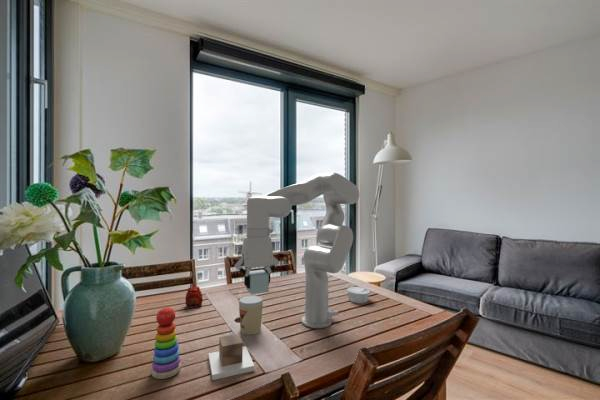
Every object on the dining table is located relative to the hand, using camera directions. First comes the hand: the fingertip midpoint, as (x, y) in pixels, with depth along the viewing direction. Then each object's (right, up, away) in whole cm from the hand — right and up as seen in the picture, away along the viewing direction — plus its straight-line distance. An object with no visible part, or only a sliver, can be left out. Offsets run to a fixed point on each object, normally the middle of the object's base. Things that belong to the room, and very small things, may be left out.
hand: (257, 285), depth 97 cm
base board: (-7, -22, -9) cm, 24 cm away
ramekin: (+44, -22, +47) cm, 68 cm away
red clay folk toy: (-35, -21, +38) cm, 56 cm away
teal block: (0, -2, 0) cm, 2 cm away
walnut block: (-7, -20, -9) cm, 23 cm away
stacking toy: (-25, -22, -13) cm, 35 cm away
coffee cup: (-5, -22, +14) cm, 26 cm away
